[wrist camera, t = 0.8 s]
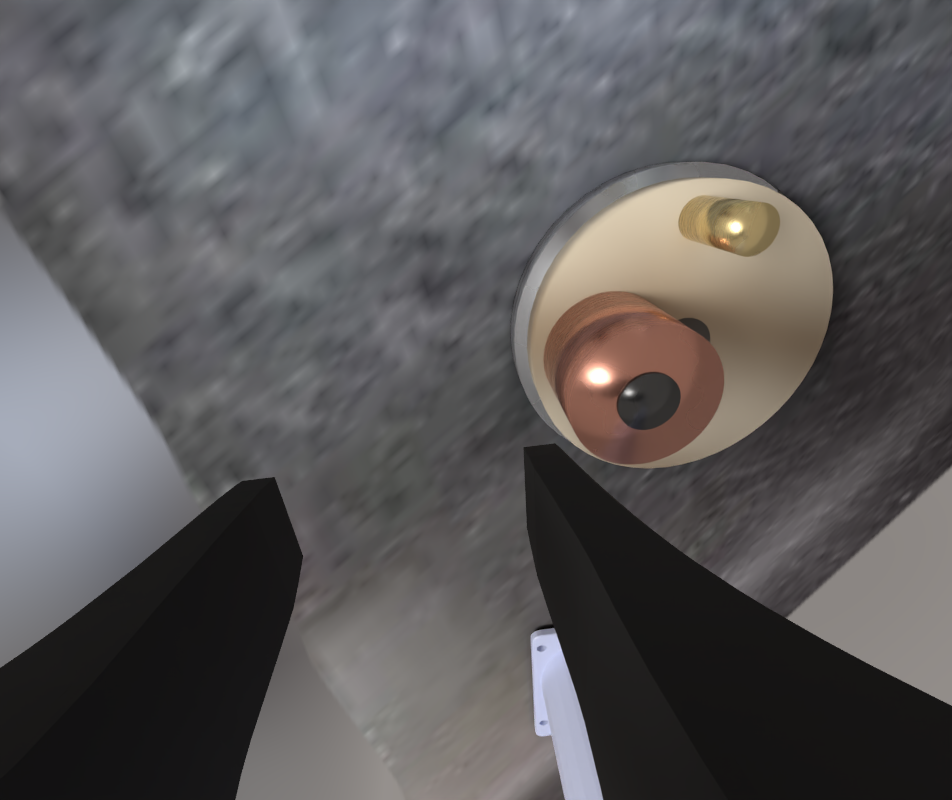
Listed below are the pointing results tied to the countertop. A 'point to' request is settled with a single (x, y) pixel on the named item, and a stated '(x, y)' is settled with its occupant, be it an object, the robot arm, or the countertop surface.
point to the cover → (632, 377)
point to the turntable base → (570, 225)
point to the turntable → (703, 291)
